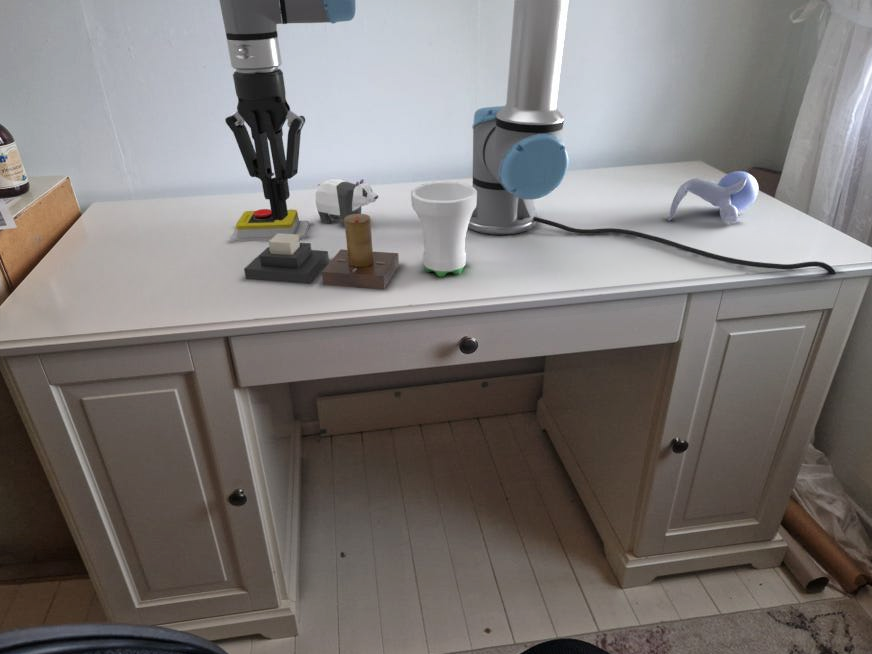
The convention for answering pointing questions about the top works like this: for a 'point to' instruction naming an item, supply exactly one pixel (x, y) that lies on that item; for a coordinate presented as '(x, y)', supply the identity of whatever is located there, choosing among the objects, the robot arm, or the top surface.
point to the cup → (444, 223)
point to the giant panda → (342, 199)
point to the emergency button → (267, 226)
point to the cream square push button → (284, 244)
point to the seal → (721, 193)
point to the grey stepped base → (288, 265)
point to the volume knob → (359, 240)
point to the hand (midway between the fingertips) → (280, 217)
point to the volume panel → (361, 271)
